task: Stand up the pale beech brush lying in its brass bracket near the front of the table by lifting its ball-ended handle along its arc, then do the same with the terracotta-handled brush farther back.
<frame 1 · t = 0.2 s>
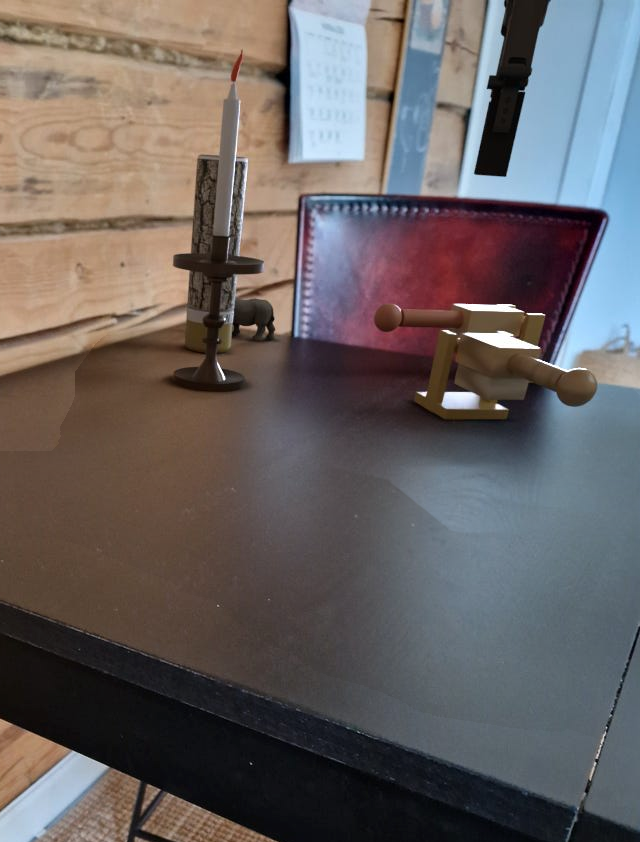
hand: (488, 176, 84), 25 cm above the table, tool pointing down, fingers open, 13 cm apart
rhino figurine: (232, 337, 137), on the table
brush near: (520, 376, 92), point 6 cm above the table, hinge at 0.0°
bracket near: (458, 410, 103), on the table
paper tube: (207, 350, 127), on the table
bracket far: (503, 376, 122), on the table
candlestick: (208, 383, 109), on the table
brush far: (448, 327, 117), point 6 cm above the table, hinge at 0.0°
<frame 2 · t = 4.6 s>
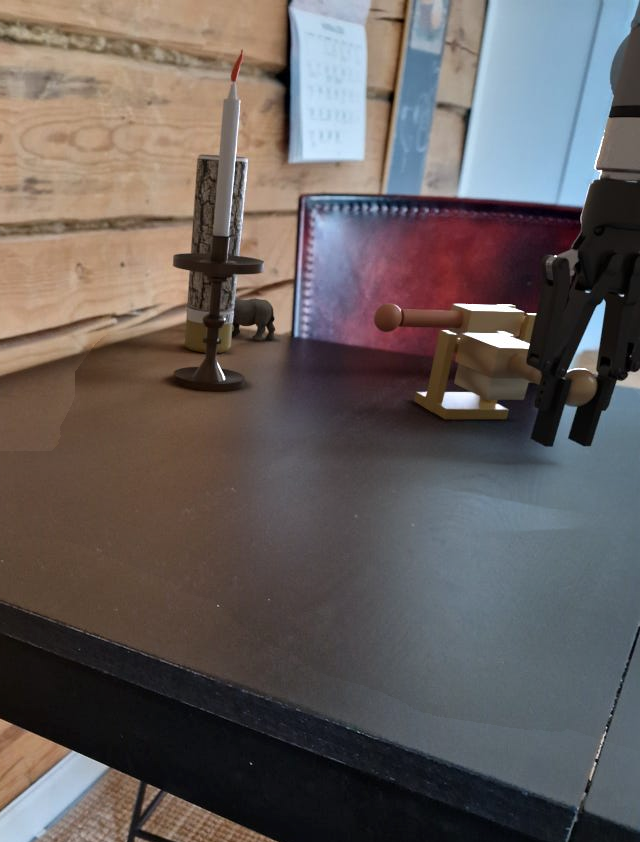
hand: (560, 442, 86), 2 cm above the table, tool pointing down, fingers closed on brush near, 4 cm apart
brush near: (520, 376, 92), point 6 cm above the table, hinge at 0.0°, touching gripper
everything else where it was.
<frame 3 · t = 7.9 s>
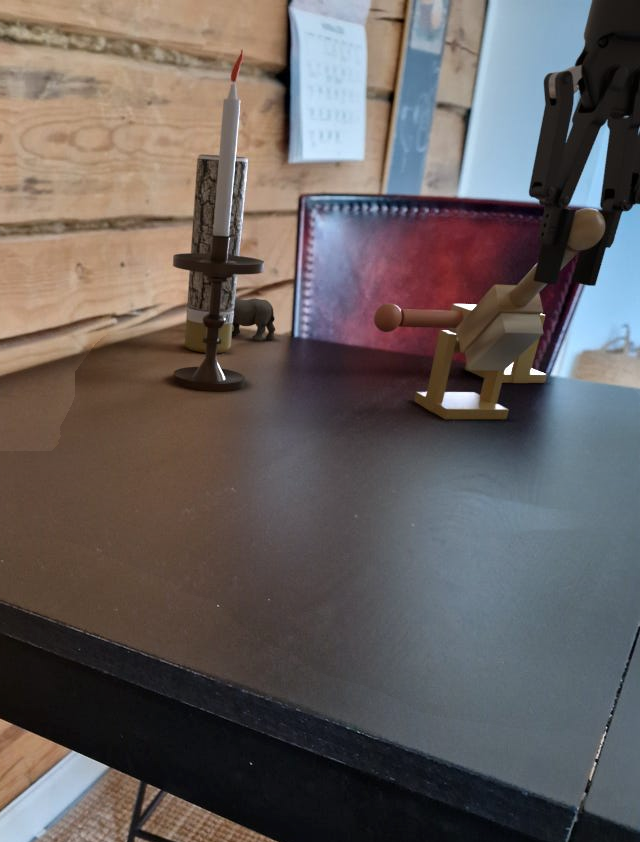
hand: (564, 282, 84), 16 cm above the table, tool pointing down, fingers closed on brush near, 4 cm apart
brush near: (528, 299, 90), point 14 cm above the table, hinge at 43.8°, touching gripper
everything else where it was.
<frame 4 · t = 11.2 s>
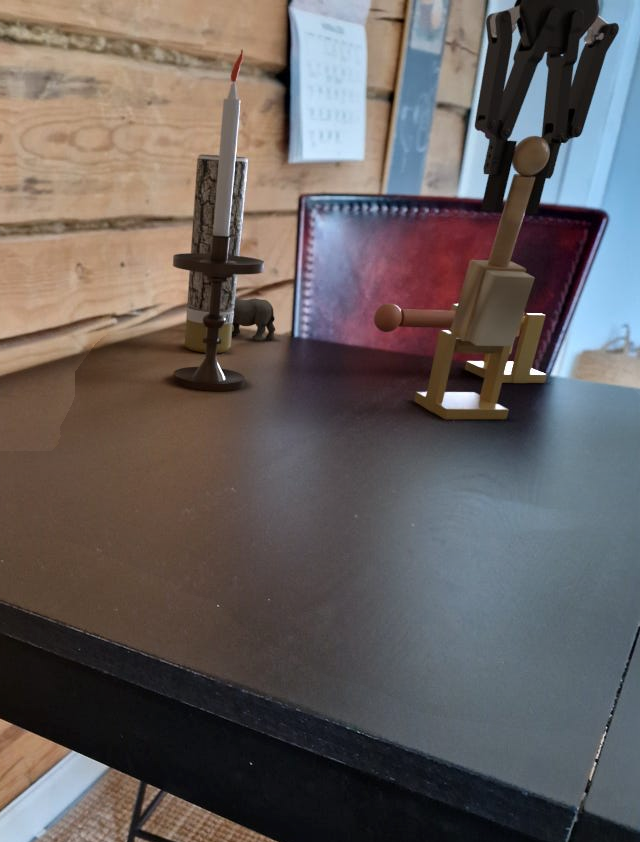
hand: (508, 211, 92), 22 cm above the table, tool pointing down, fingers closed on brush near, 4 cm apart
brush near: (507, 254, 93), point 18 cm above the table, hinge at 83.0°, touching gripper
everything else where it was.
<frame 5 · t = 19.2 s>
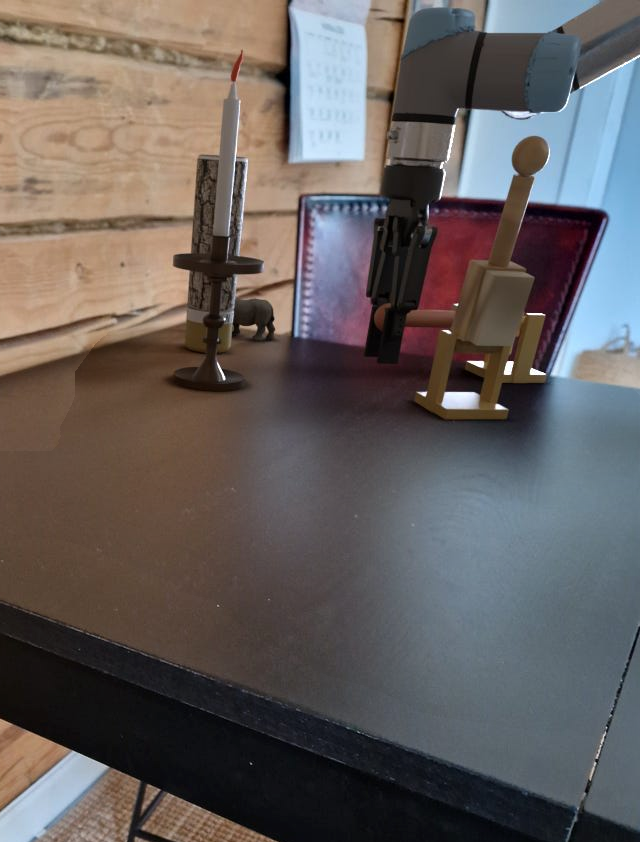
hand: (380, 359, 117), 2 cm above the table, tool pointing down, fingers closed on brush far, 4 cm apart
brush near: (506, 254, 93), point 18 cm above the table, hinge at 83.1°
brush far: (448, 327, 117), point 6 cm above the table, hinge at 0.0°, touching gripper
everything else where it was.
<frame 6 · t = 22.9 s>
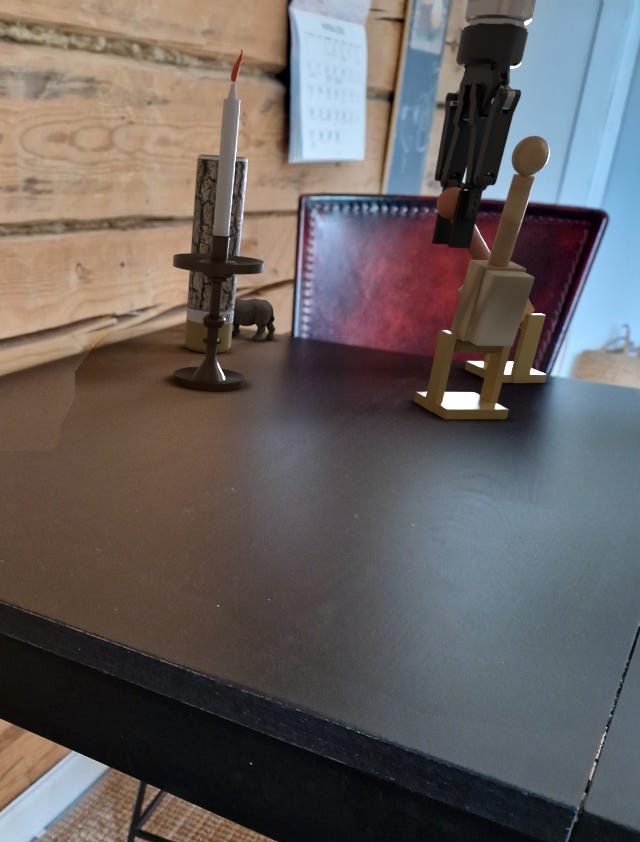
hand: (450, 245, 111), 17 cm above the table, tool pointing down, fingers closed on brush far, 4 cm apart
brush far: (477, 267, 113), point 14 cm above the table, hinge at 45.8°, touching gripper
everything else where it was.
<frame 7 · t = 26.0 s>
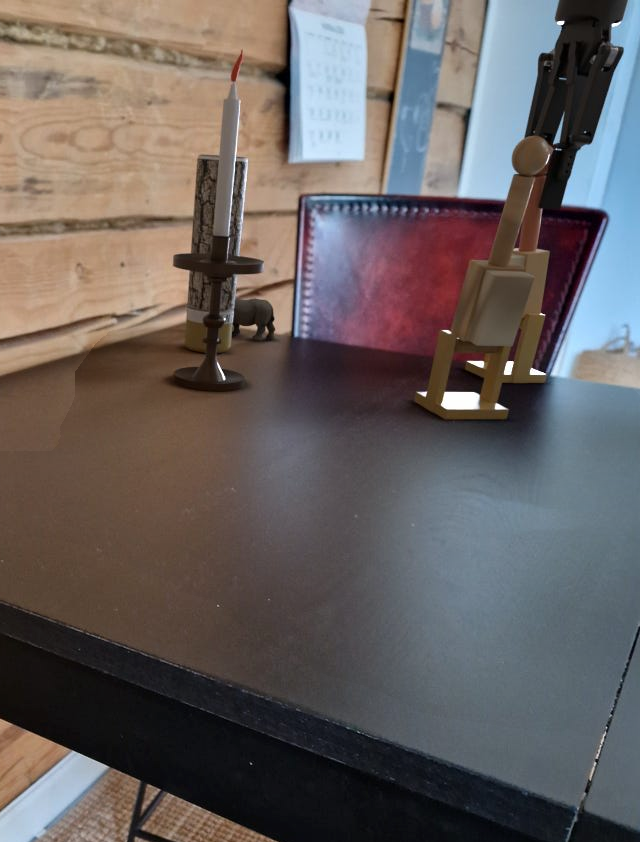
hand: (539, 207, 111), 22 cm above the table, tool pointing down, fingers closed on brush far, 3 cm apart
brush far: (521, 240, 113), point 18 cm above the table, hinge at 82.3°, touching gripper
everything else where it was.
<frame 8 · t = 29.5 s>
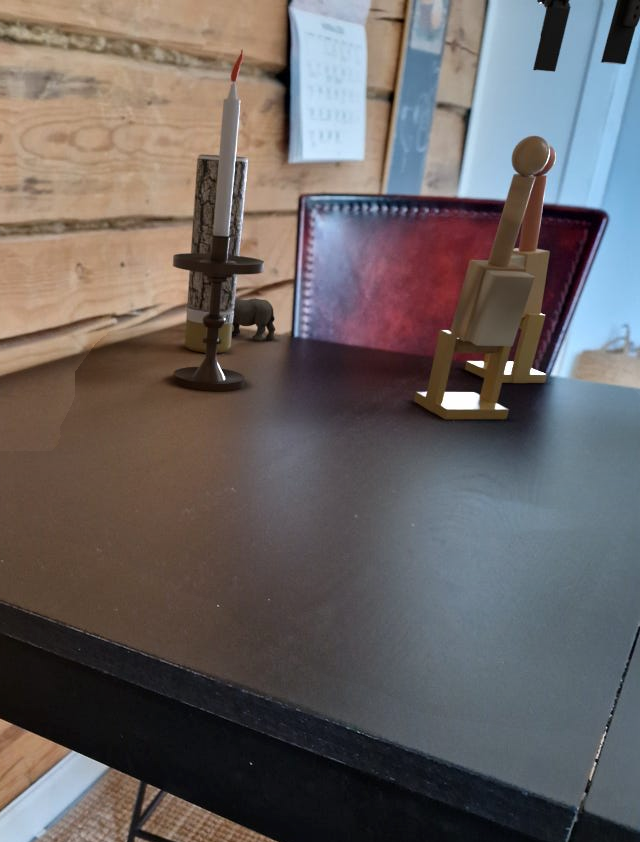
hand: (576, 67, 104), 37 cm above the table, tool pointing down, fingers open, 13 cm apart
brush far: (521, 240, 113), point 18 cm above the table, hinge at 82.4°
everything else where it was.
at the end: brush near at +83° (first picture: +0°); brush far at +82° (first picture: +0°) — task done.
